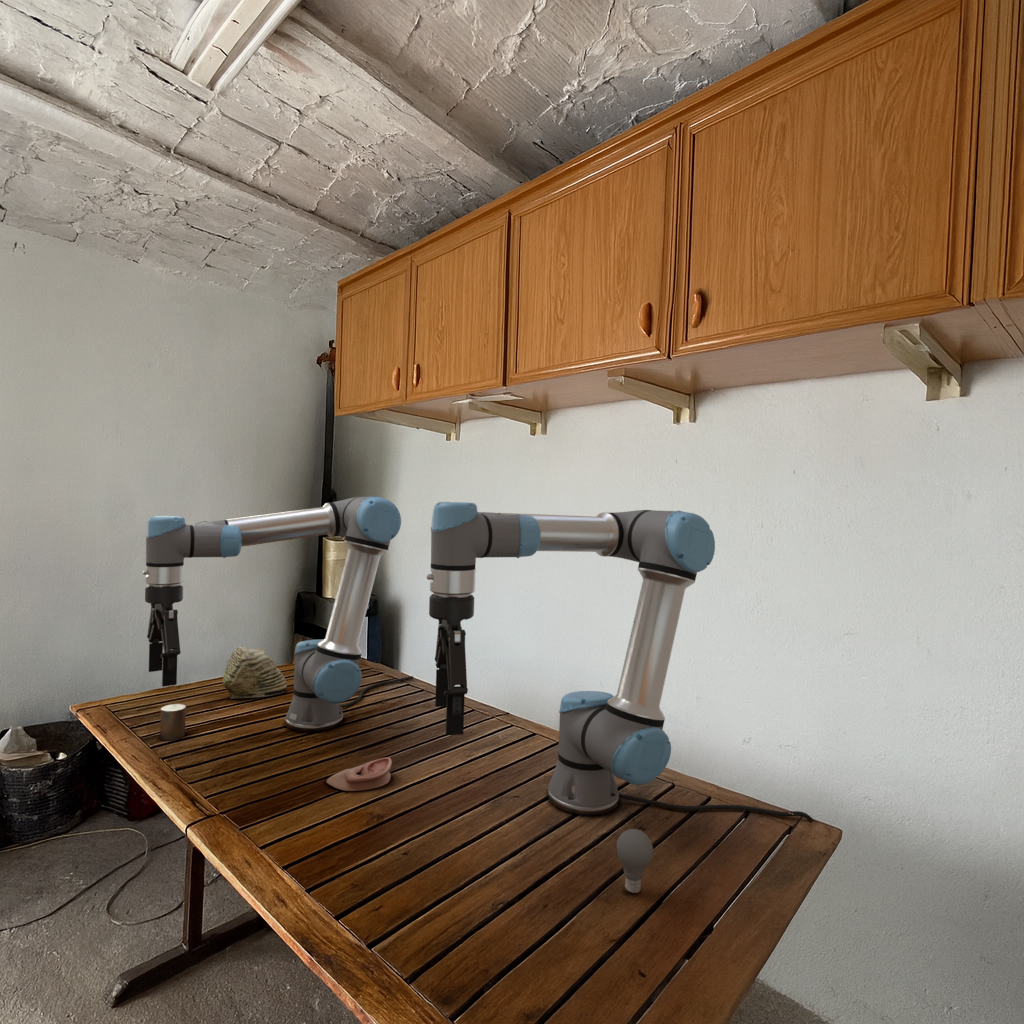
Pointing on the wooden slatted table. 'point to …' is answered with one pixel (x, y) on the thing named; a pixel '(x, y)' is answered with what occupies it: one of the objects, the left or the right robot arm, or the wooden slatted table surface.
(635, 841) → the light bulb
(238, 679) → the fossil
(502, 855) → the wooden slatted table surface
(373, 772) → the anatomical model
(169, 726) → the canister
